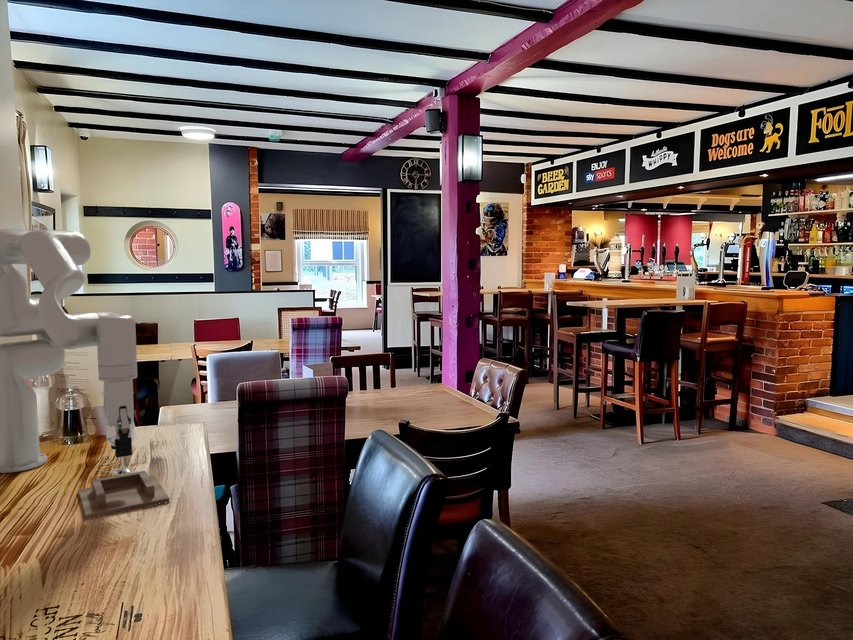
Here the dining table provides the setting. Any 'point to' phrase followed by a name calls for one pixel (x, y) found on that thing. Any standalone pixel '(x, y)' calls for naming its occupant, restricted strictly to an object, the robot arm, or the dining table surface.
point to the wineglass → (111, 439)
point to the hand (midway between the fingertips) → (121, 451)
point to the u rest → (121, 494)
